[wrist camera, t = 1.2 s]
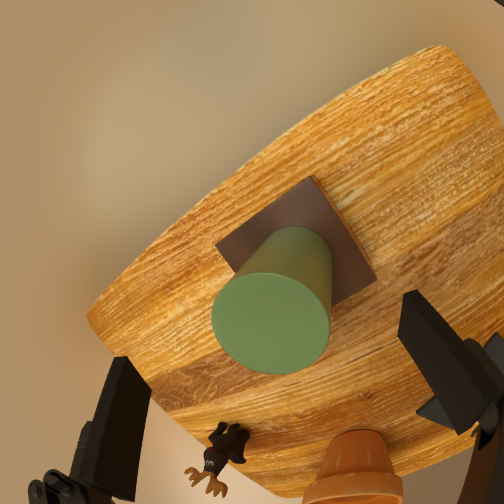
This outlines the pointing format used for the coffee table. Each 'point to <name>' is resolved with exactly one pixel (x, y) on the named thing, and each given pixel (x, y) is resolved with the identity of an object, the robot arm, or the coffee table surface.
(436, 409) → the slate mat
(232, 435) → the figurine
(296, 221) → the dark brown square block
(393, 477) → the flower pot
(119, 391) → the robot arm
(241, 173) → the coffee table surface
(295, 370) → the green canister
